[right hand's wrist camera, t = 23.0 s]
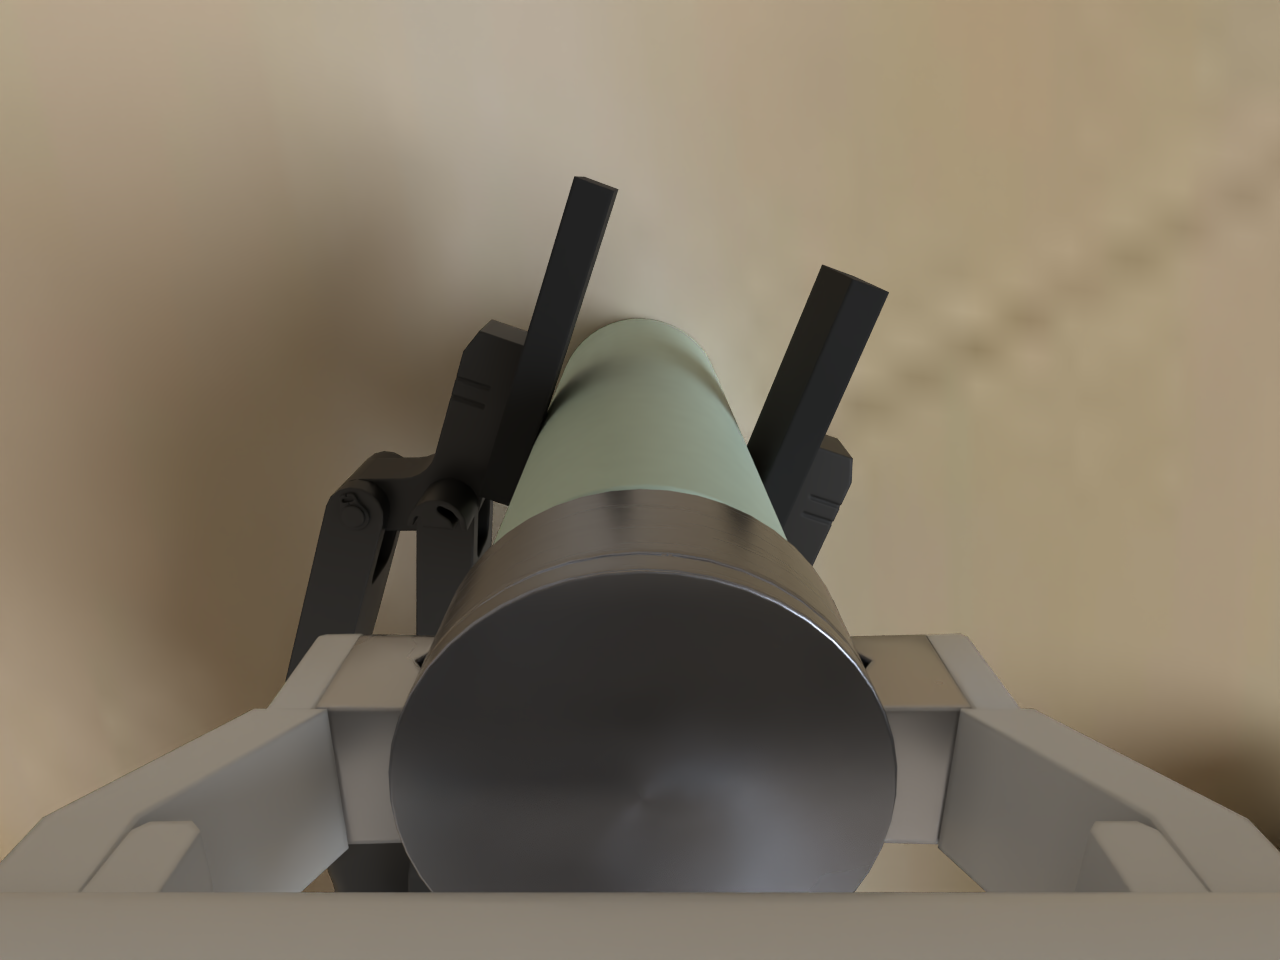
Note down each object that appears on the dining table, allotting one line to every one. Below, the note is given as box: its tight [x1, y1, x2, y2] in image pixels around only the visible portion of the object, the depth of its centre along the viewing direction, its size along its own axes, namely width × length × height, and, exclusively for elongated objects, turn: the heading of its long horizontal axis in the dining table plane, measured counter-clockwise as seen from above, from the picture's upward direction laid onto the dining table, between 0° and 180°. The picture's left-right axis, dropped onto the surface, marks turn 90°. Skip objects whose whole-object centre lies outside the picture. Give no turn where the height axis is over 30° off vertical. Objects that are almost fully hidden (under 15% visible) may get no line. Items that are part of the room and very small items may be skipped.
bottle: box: [493, 319, 787, 545], centre depth 17 cm, size 5×5×16 cm
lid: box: [388, 489, 897, 892], centre depth 9 cm, size 5×5×2 cm
